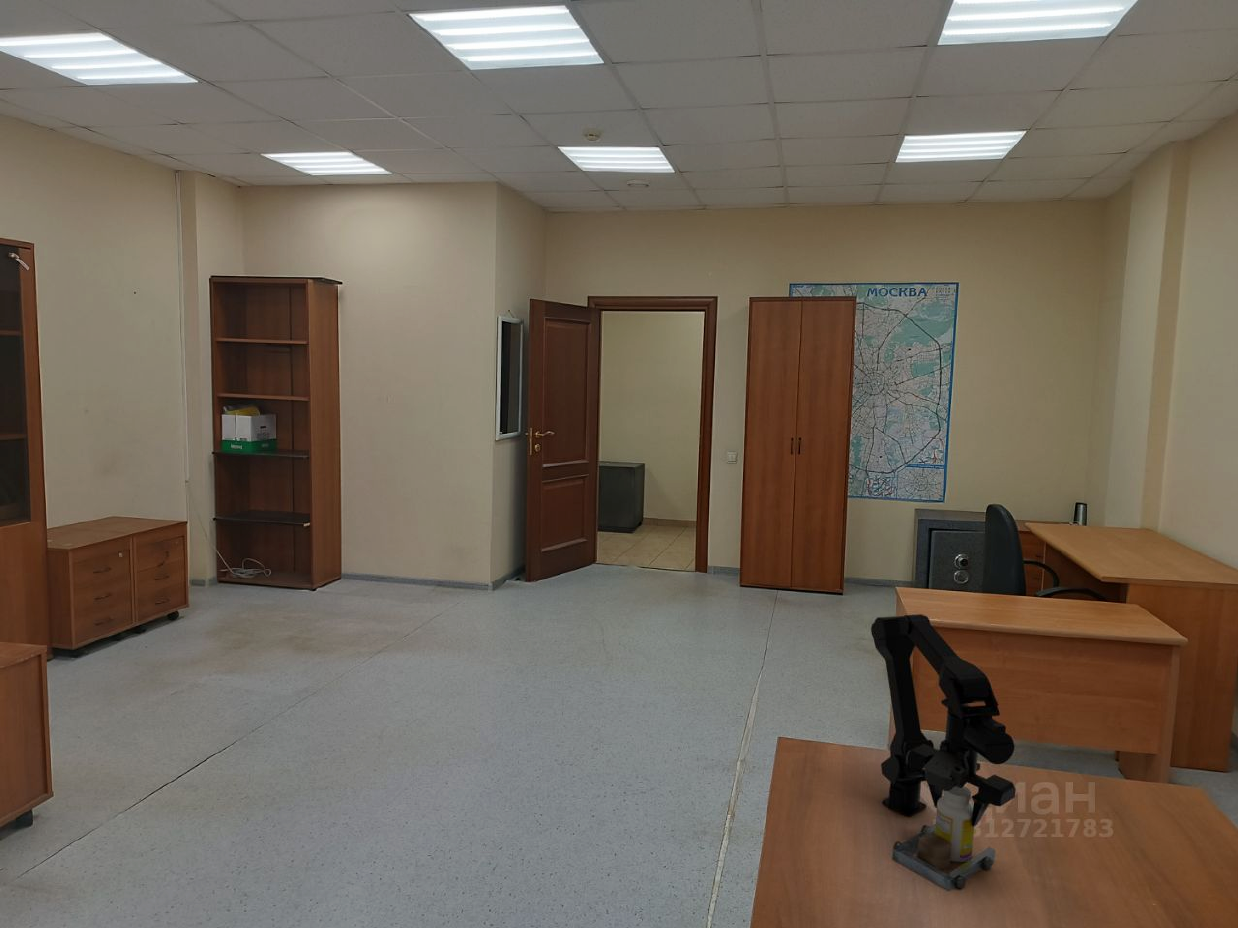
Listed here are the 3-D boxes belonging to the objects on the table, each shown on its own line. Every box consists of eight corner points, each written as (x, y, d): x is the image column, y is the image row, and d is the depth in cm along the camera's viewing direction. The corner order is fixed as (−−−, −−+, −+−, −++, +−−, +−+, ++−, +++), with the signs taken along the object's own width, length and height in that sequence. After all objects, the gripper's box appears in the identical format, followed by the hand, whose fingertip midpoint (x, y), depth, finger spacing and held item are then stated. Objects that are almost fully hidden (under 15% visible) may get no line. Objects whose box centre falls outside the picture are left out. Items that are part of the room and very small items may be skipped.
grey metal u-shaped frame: (933, 828, 164) (934, 818, 163) (999, 862, 153) (1000, 852, 153) (887, 855, 154) (888, 845, 154) (954, 893, 144) (955, 883, 144)
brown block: (916, 863, 152) (918, 838, 152) (931, 856, 154) (933, 832, 154) (934, 875, 149) (936, 849, 148) (949, 868, 151) (951, 843, 150)
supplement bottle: (970, 846, 158) (976, 783, 156) (972, 867, 152) (978, 802, 150) (933, 838, 160) (938, 777, 158) (933, 858, 154) (938, 794, 152)
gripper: (892, 729, 155) (886, 807, 157) (987, 771, 140) (980, 856, 142) (926, 714, 161) (920, 789, 164) (1020, 752, 147) (1012, 834, 149)
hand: (955, 816), depth 154 cm, fingers open, 7 cm apart
